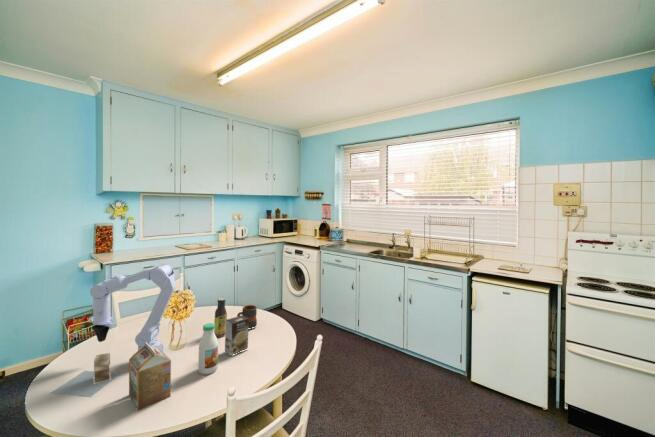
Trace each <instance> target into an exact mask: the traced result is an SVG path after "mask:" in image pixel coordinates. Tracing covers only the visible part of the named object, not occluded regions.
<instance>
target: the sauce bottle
mask: <svg viewBox="0 0 655 437" xmlns="http://www.w3.org/2000/svg"><path fill="white" fill-rule="evenodd" d="M214 311H215V312H214V323H213V324H214V325H215V328H214V333H215V336H216V338H222V337H225V333H226V320H227V319H228V318H227V317H228V313H227V310H226V298H225V297H219V298H217V308H216V309H215V310H214ZM221 336H222V337H221Z"/></svg>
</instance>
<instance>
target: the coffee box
mask: <svg viewBox="0 0 655 437" xmlns="http://www.w3.org/2000/svg"><path fill="white" fill-rule="evenodd" d="M248 328H249V318H247V317H245V316H243V315H240V316H238V317H237V316H235V317H232V318H231V317H230V318H227V320H226V333H225V335H224V337H225V340H224V341H225V342H224V352H227V353H228V354H227V353H226V354H227V355H229V354H231V355H233V354H236V353H238V352H240V351H242V350H245V349H247V348H248V349H249V330H248Z"/></svg>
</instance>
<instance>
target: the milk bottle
mask: <svg viewBox="0 0 655 437" xmlns="http://www.w3.org/2000/svg"><path fill="white" fill-rule="evenodd" d="M214 328H215V325H214V323H212V322H210V323H209V322H207V323H205V324H204V325H203V326H202V331H203V333H202V336H201V338H200V340H199V344H198V345H199V346H198V373H199V374H200V373H201V374H200V375H205V374H206V375H210V374H211V375H212V374H213V373H215V372H216V371H217V370H218V366H219V364H218V363H219V360H218V359H219V343H218V337H216V336H215V333H214Z"/></svg>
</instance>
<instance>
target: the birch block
mask: <svg viewBox="0 0 655 437" xmlns="http://www.w3.org/2000/svg"><path fill="white" fill-rule="evenodd" d="M110 366H111V353H110V352H107V353H106V352H105V353H100V354H96V355H95V358H94V360H93V371H94V372H96V371H101V370H106V369H109V370H110Z"/></svg>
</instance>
